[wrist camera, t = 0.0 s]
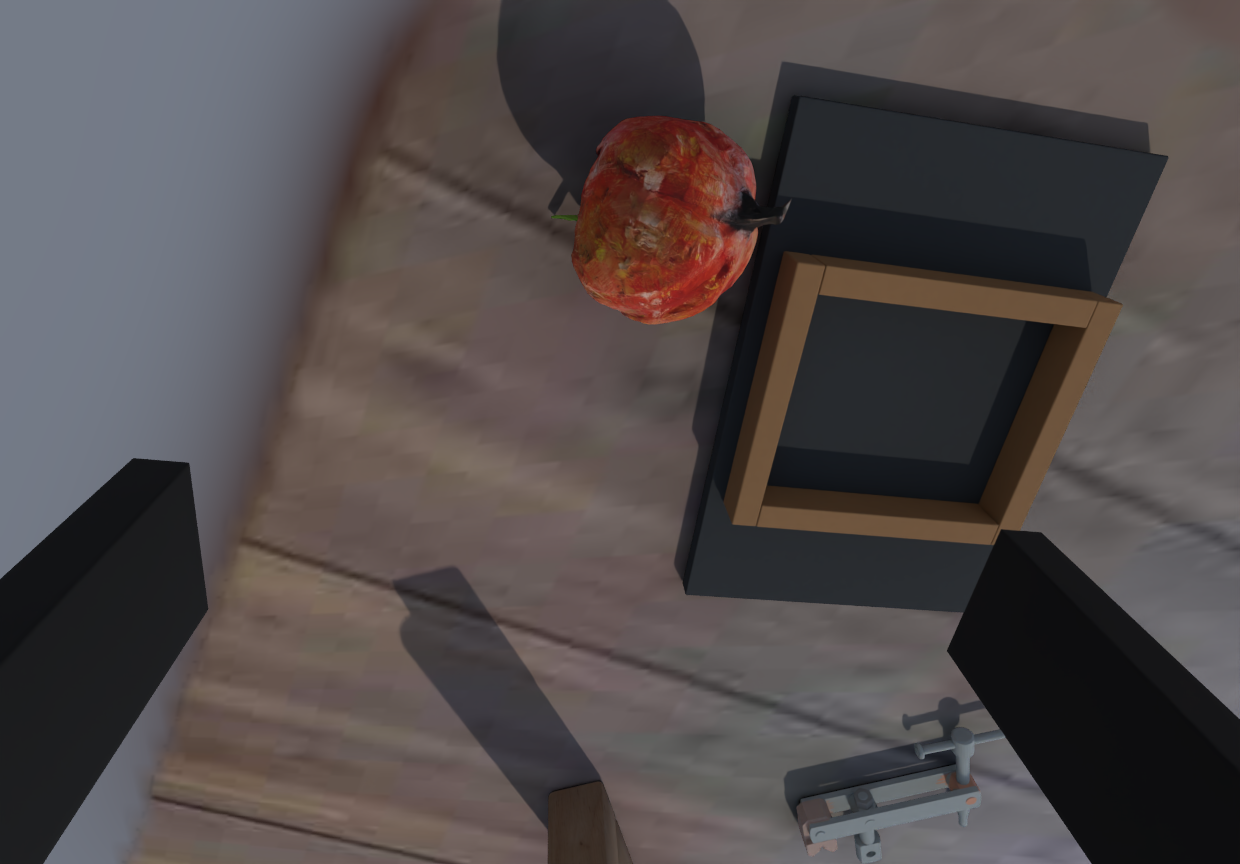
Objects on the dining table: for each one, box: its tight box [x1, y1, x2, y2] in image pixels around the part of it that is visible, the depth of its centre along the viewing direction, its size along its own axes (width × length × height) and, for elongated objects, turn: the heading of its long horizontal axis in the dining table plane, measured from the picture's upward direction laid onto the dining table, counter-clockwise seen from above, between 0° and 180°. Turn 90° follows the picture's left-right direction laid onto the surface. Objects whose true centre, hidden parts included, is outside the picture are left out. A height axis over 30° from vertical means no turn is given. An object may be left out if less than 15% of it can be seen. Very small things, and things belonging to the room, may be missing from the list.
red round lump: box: [551, 116, 791, 324], centre depth 27 cm, size 7×7×10 cm
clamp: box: [796, 727, 1006, 863], centre depth 47 cm, size 15×2×10 cm
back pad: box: [683, 95, 1168, 613], centre depth 33 cm, size 24×16×3 cm, turn 172°
